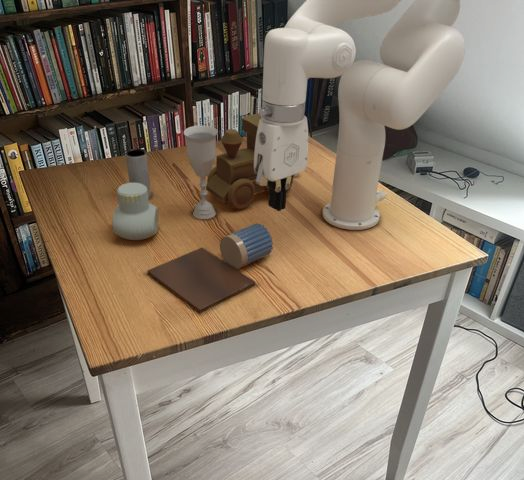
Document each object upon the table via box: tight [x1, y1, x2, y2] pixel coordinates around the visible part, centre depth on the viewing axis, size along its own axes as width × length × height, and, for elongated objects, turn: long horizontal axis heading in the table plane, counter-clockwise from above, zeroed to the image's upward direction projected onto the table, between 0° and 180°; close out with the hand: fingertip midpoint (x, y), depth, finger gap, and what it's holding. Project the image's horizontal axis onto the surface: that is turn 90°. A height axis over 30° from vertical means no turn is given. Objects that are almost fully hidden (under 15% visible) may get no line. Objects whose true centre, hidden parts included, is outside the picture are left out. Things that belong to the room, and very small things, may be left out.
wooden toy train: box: [205, 112, 294, 210], centre depth 127 cm, size 20×11×17 cm, turn 124°
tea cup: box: [219, 222, 274, 270], centre depth 109 cm, size 8×7×7 cm
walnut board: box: [147, 247, 256, 314], centre depth 105 cm, size 13×16×1 cm
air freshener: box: [112, 182, 160, 241], centre depth 114 cm, size 11×8×10 cm
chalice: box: [183, 124, 219, 220], centre depth 119 cm, size 7×7×18 cm
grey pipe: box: [125, 148, 152, 199], centre depth 127 cm, size 4×4×10 cm
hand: (276, 207), depth 110 cm, fingers closed
